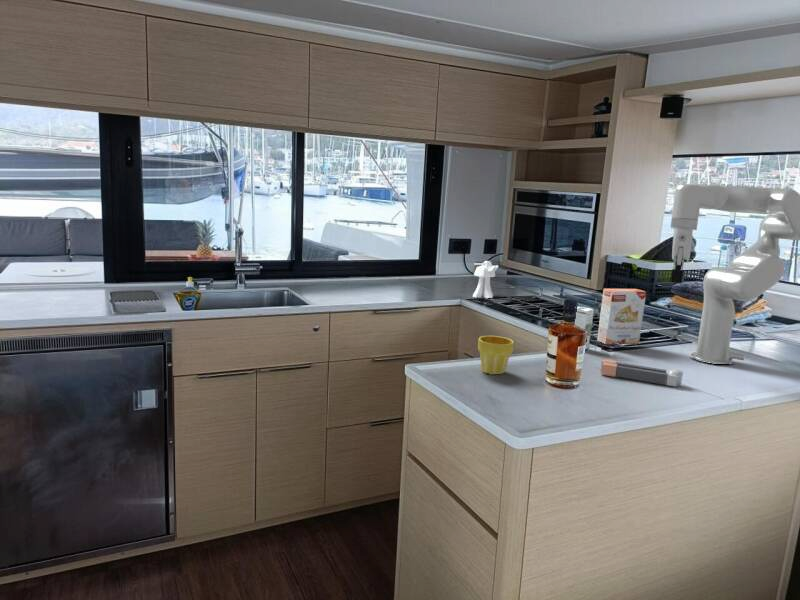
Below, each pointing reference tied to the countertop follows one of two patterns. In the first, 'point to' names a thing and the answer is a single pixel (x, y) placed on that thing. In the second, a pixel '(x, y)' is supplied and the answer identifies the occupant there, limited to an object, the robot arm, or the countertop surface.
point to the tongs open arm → (633, 366)
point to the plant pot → (494, 353)
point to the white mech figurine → (484, 279)
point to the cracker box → (621, 316)
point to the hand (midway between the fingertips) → (676, 282)
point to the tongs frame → (643, 374)
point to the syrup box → (584, 321)
